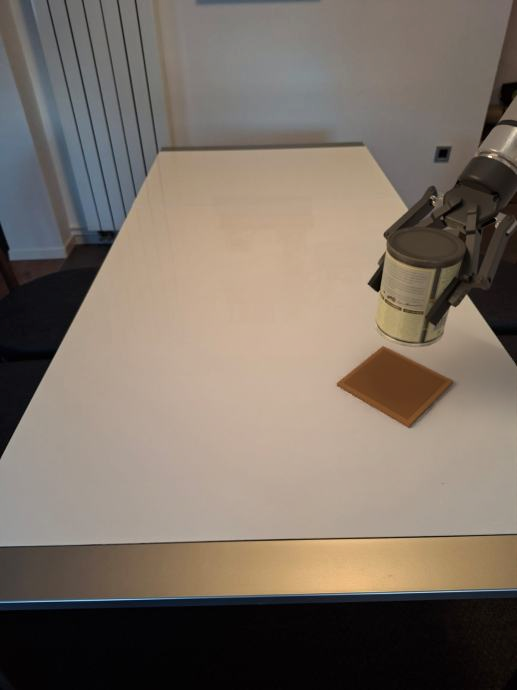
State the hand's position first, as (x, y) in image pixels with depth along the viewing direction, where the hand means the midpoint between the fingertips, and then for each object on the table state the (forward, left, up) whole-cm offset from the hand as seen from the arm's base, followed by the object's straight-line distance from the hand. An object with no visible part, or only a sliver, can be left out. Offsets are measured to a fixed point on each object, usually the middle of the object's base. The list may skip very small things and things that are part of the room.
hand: (400, 304), depth 71 cm
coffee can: (+1, -3, -6) cm, 6 cm away
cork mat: (+2, -4, -18) cm, 19 cm away
